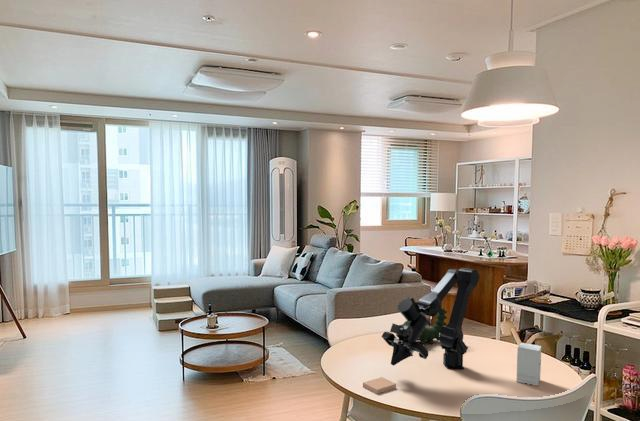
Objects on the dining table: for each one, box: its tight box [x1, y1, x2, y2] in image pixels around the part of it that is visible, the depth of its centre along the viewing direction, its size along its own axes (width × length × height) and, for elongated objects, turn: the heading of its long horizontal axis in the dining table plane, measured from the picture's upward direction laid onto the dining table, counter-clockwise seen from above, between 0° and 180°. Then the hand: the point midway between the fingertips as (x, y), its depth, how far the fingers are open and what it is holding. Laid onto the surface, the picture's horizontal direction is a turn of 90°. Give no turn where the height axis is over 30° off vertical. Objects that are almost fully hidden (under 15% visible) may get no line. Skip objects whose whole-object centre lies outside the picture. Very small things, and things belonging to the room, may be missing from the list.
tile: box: [362, 376, 397, 395], centre depth 158 cm, size 2×7×9 cm
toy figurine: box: [399, 307, 448, 345], centre depth 209 cm, size 9×19×25 cm
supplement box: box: [516, 342, 542, 386], centre depth 166 cm, size 7×7×13 cm
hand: (392, 364), depth 161 cm, fingers closed
